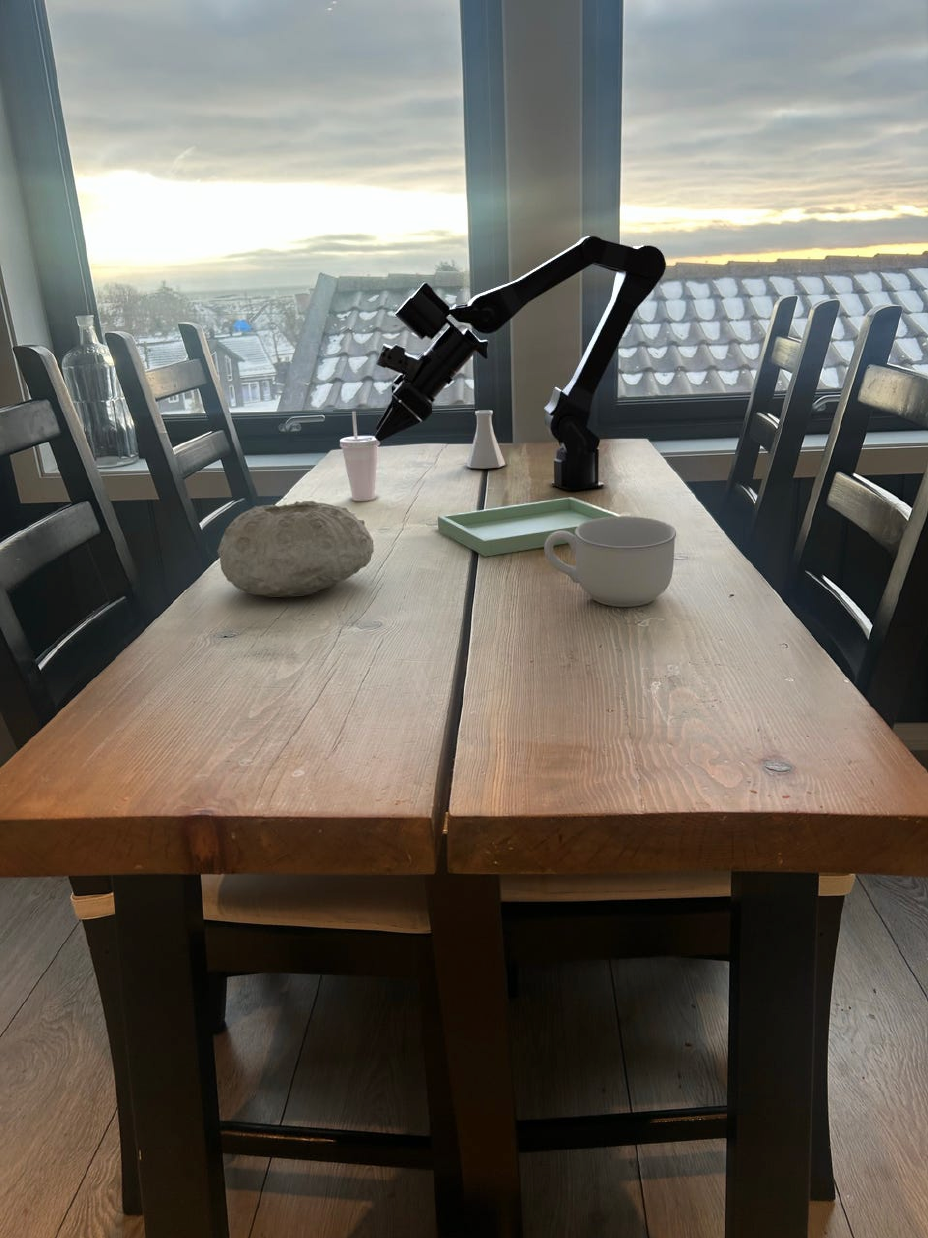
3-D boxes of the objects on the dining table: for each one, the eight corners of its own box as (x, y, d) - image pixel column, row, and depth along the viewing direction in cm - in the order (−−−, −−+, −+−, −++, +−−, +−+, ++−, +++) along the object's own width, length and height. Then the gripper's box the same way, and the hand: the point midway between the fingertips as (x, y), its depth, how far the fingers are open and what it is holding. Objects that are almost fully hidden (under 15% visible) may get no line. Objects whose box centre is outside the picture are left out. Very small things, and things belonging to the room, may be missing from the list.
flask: (506, 461, 187) (505, 407, 184) (504, 469, 181) (502, 413, 177) (468, 462, 188) (466, 409, 185) (464, 470, 182) (462, 414, 178)
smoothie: (344, 495, 166) (337, 409, 161) (383, 493, 166) (377, 407, 161) (343, 503, 160) (336, 415, 155) (383, 501, 160) (377, 413, 155)
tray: (571, 510, 149) (571, 496, 148) (629, 533, 135) (629, 518, 135) (438, 530, 141) (437, 516, 140) (484, 556, 127) (484, 540, 127)
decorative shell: (259, 564, 128) (251, 487, 125) (393, 567, 125) (388, 488, 121) (197, 610, 112) (185, 522, 109) (348, 614, 108) (341, 524, 105)
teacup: (680, 587, 113) (682, 517, 110) (666, 618, 103) (668, 543, 100) (560, 579, 117) (559, 512, 114) (535, 609, 107) (534, 537, 105)
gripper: (404, 321, 163) (341, 393, 166) (405, 327, 146) (335, 407, 149) (454, 368, 166) (391, 438, 169) (461, 380, 149) (391, 458, 152)
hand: (377, 434), depth 160 cm, fingers open, 9 cm apart
